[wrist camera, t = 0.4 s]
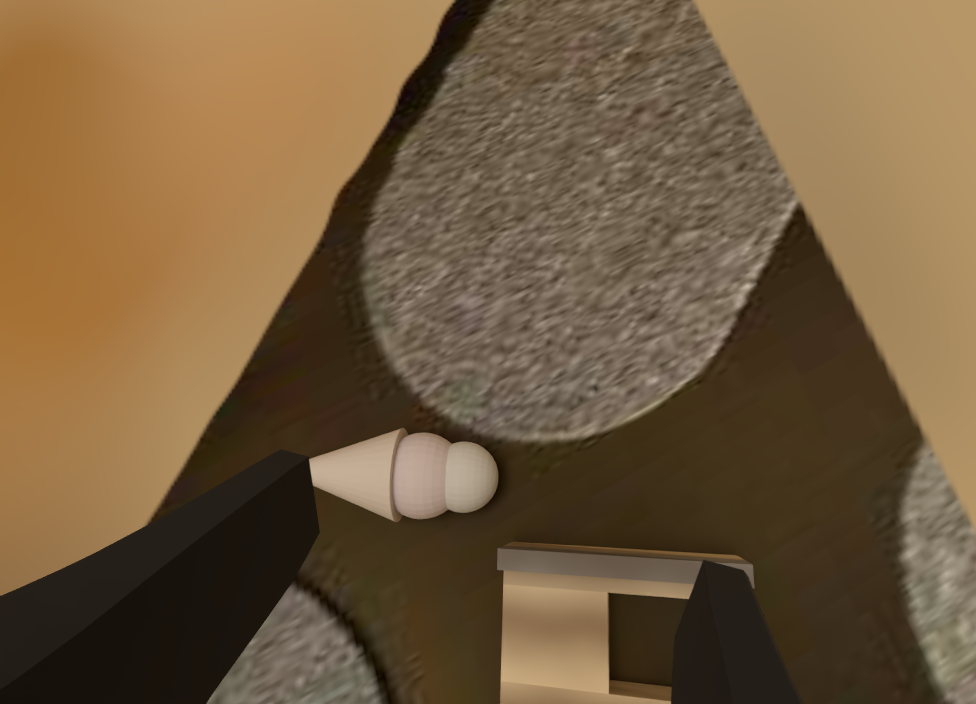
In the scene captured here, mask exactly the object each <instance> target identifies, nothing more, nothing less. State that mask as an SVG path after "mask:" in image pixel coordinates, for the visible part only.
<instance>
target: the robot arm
mask: <svg viewBox="0 0 976 704" xmlns="http://www.w3.org/2000/svg"><path fill="white" fill-rule="evenodd" d="M319 532H320V531H319V524H318V517H317V510H316V503H315V496H314V490H313V483H312V476H311V469H310V462H309V457H308V456H304V455H300V454H296V453H292V452H289V451H285V450H279V451H277V452H275V453H273V454H272V455H270V456H268V457H266V458H264V459H263V460H261V461H259V462H257V463H256V464H254V465H252V466H250V467H249V468H247V469H245V470H244V471H242V472H240V473H239V474H237V475H235V476H233V477H232V478H230V479H228V480H227V481H225V482H223V483H221V484H220V485H218V486H216V487H215V488H213V489H211V490H209V491H208V492H206V493H204V494H202V495H201V496H199V497H197V498H195V499H194V500H192V501H190V502H188V503H187V504H185V505H183V506H182V507H180V508H178V509H176V510H175V511H173V512H171V513H169V514H168V515H166V516H164V517H162V518H160V519H158V520H157V521H155V522H153V523H151V524H149V525H147V526H145V527H143V528H141V529H139V530H138V531H136V532H134V533H132V534H130V535H128V536H126V537H124V538H122V539H121V540H119V541H117V542H115V543H113V544H111V545H109V546H107V547H105V548H103V549H102V550H100V551H98V552H96V553H94V554H92V555H90V556H88V557H86V558H84V559H82V560H79V561H78V562H75V563H73V564H71V565H69V566H67V567H65V568H63V569H61V570H58V571H56V572H54V573H52V574H49V575H47V576H45V577H43V578H41V579H38V580H36V581H34V582H32V583H30V584H27V585H25V586H23V587H21V588H18V589H16V590H14V591H11V592H9V593H7V594H4V595H2V596H0V704H206V703H207V701H208V700H209V698H210V697H211V695H212V694H213V692H214V691H215V690H216V688H217V687H218V685H219V684H220V683H221V681H222V680H223V678H224V677H225V676H226V674H227V673H228V671H229V670H230V669H231V667H232V666H233V664H234V663H235V662H236V660H237V659H238V658H239V656H240V655H241V653H242V652H243V651H244V649H245V648H246V646H247V645H248V644H249V642H250V641H251V639H252V638H253V637H254V635H255V634H256V633H257V631H258V630H259V628H260V627H261V626H262V624H263V623H264V621H265V620H266V619H267V617H268V616H269V614H270V613H271V612H272V610H273V609H274V607H275V606H276V604H277V603H278V602H279V600H280V599H281V597H282V596H283V595H284V593H285V592H286V590H287V589H288V587H289V586H290V584H291V583H292V582H293V580H294V578H295V576H296V575H297V573H298V571H299V569H300V568H301V566H302V564H303V562H304V561H305V559H306V557H307V555H308V553H309V551H310V549H311V547H312V546H313V544H314V542H315V540H316V538H317V536H318V534H319ZM671 704H803V702H802V700H801V698H800V696H799V694H798V691H797V689H796V687H795V685H794V683H793V681H792V679H791V677H790V674H789V672H788V670H787V668H786V666H785V664H784V661H783V659H782V657H781V655H780V652H779V650H778V648H777V646H776V643H775V641H774V639H773V636H772V634H771V632H770V629H769V627H768V625H767V622H766V620H765V618H764V615H763V613H762V610H761V608H760V605H759V603H758V600H757V598H756V595H755V593H754V590H753V588H752V585H751V582H750V580H749V577H748V576H747V574H746V573H745V571H744V570H741V569H737V568H734V567H730V566H726V565H722V564H718V563H714V562H711V561H707V560H703V562H702V565H701V568H700V570H699V573H698V576H697V578H696V581H695V584H694V587H693V589H692V592H691V595H690V597H689V600H688V603H687V605H686V608H685V611H684V614H683V616H682V619H681V622H680V624H679V627H678V630H677V632H676V635H675V645H674V659H673V674H672V691H671Z"/></svg>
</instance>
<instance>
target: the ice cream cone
mask: <svg viewBox="0 0 976 704" xmlns="http://www.w3.org/2000/svg"><path fill="white" fill-rule="evenodd" d="M309 462H310V469H311V476H312V483H313V486H315V487H318V488H320V489H322V490H325V491H327V492H329V493H331V494H334V495H336V496H338V497H340V498H343V499H345V500H347V501H349V502H352V503H354V504H356V505H358V506H361V507H363V508H365V509H368V510H370V511H372V512H374V513H377V514H379V515H381V516H383V517H386V518H388V519H390V520H392V521H395V522H399V521H400V520H401V518H402V516H403V515H404V516H407V517H410V518H414V519H428V518H432V517H436V516H438V515H440V514H442V513H444V512H445V511H447V510H448V509H449V510H451V511H454V512H459V513H467V512H472V511H476V510H478V509H480V508H482V507H483V506H484V505H486V504H487V503H488V502H489V501H490V500H491V498H492V497H493V495H494V493H495V492H496V489H497V485H498V469H497V465H496V463H495V461H494V458H493V457H492V456H491V454H490V453H489V452H488V451H487V450H486V449H484V448H483V447H481V446H479V445H478V444H475V443H472V442H457V443H453V444H451V443H450V442H449V441H447V440H446V439H444V438H442V437H441V436H438V435H435V434H432V433H415V434H411V435H408V433H407V431H406V429H404V428H402V429H399V430H396V431H393V432H390V433H387V434H384V435H381V436H378V437H375V438H372V439H369V440H366V441H363V442H360V443H357V444H354V445H351V446H348V447H345V448H342V449H339V450H335V451H332V452H329V453H326V454H323V455H320V456H317V457H314V458H311V459H309Z"/></svg>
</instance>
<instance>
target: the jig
mask: <svg viewBox="0 0 976 704" xmlns="http://www.w3.org/2000/svg"><path fill="white" fill-rule="evenodd" d="M703 560H707V561H711V562H714V563H718V564H722V565H726V566H730V567H734V568H737V569H741V570H744V571H745V573H746V574H747V576H748V577H749V580H750V582H751V585H752V588H753V589H754V576H753V565H752V564H751V563H749V562H747V561H746V560H744V559H742V558H741V557H739V556H737V555H724V554H707V553H691V552H674V551H658V550H641V549H624V548H608V547H591V546H575V545H558V544H542V543H525V542H510V543H508V544H506V545H504V546H502V547H500V548H498V556H497V570H504V584H503V620H502V657H501V694H500V704H671V691H672V687H668V686H659V685H650V684H642V683H633V682H624V681H615V680H610V645H609V593H620V594H632V595H645V596H658V597H671V598H683V599H689V597H690V595H691V592H692V589H693V587H694V584H695V581H696V578H697V576H698V573H699V570H700V568H701V565H702V562H703Z"/></svg>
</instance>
